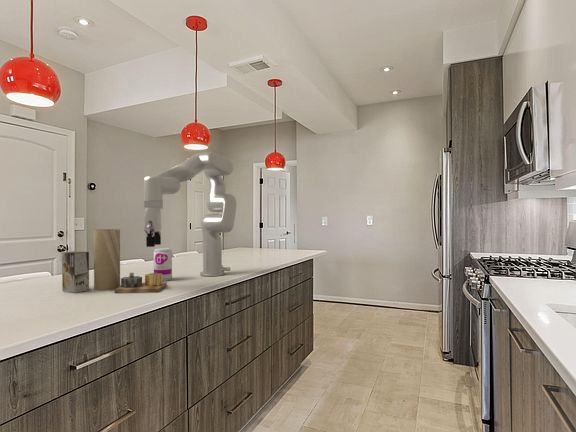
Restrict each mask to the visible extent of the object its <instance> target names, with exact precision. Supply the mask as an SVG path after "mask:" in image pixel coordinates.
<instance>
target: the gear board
mask: <svg viewBox="0 0 576 432" xmlns="http://www.w3.org/2000/svg"><path fill="white" fill-rule="evenodd" d="M134 274H135V273H134V272H129V276H124V277H120V287H118V288H116V289H113V290H114V294H137V293H138V294H140V293H141V294H142V293H145V294H146V293H147V294H148V293H159V292H160V291H162V290H163V289H164V288H165V287H167V281H162V285H159V286H151V287H150V286H145V282H143V277H142V276H139V275H137V276H134ZM151 274H152V275H156V273H154V272H151Z"/></svg>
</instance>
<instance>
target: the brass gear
mask: <svg viewBox="0 0 576 432" xmlns="http://www.w3.org/2000/svg"><path fill="white" fill-rule="evenodd" d="M162 282H163V281H162V273H156V275H152V272H151V273H150V272H149V273H147V274H146V273H145V274H144V283H145V286H150V287H151V286H159V285H162Z"/></svg>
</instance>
